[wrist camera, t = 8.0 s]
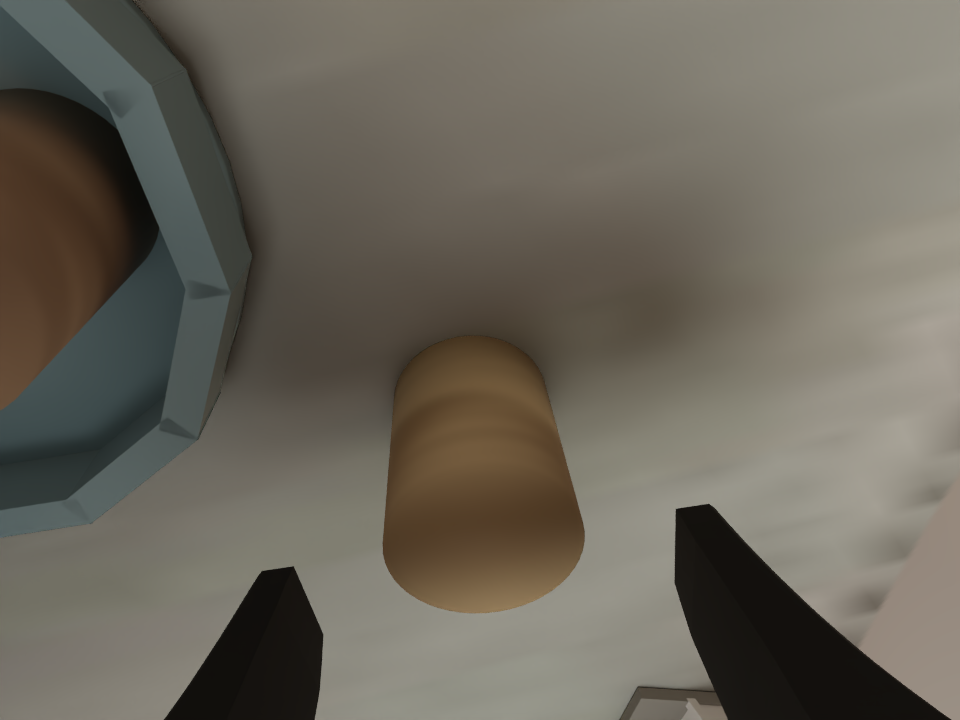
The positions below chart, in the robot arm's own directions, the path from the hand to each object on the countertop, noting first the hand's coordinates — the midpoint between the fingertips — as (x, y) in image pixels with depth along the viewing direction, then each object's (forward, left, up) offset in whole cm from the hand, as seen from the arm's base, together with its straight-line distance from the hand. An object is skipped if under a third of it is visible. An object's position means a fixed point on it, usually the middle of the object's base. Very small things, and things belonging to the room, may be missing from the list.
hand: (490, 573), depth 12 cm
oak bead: (0, 0, -6) cm, 6 cm away
